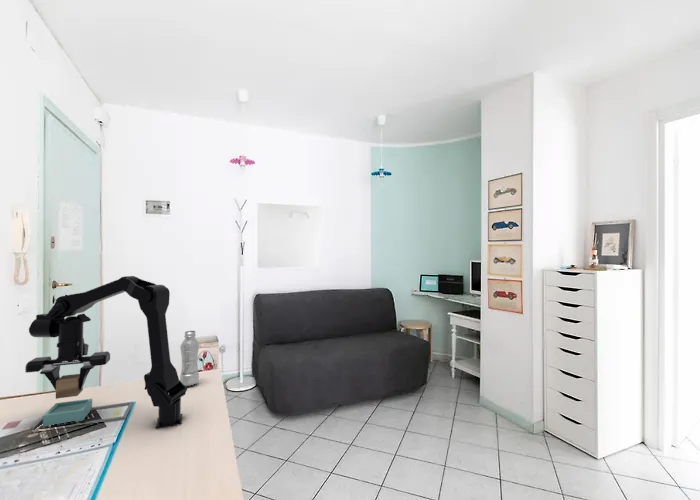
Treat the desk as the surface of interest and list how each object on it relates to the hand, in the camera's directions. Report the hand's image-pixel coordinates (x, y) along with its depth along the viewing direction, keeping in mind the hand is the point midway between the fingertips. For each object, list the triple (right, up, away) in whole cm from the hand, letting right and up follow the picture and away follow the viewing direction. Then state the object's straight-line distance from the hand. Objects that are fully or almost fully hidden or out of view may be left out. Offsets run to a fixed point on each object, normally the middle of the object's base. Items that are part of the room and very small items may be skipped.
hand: (69, 390), depth 101 cm
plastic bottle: (+22, -10, +28) cm, 37 cm away
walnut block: (0, -1, 0) cm, 1 cm away
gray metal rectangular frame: (+4, -9, +1) cm, 9 cm away
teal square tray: (0, -8, 0) cm, 8 cm away
